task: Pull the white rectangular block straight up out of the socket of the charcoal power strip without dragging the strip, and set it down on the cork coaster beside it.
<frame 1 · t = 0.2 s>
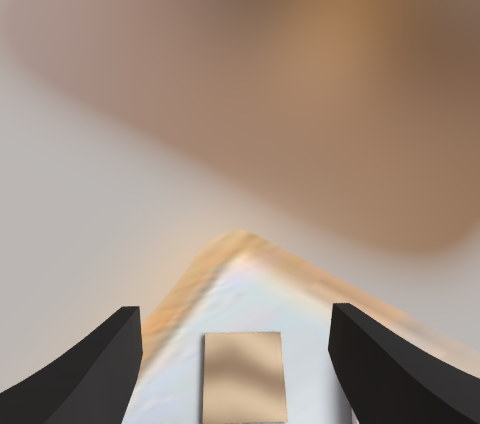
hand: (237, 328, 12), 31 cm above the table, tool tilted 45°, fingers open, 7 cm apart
cork coaster: (243, 375, 38), on the table
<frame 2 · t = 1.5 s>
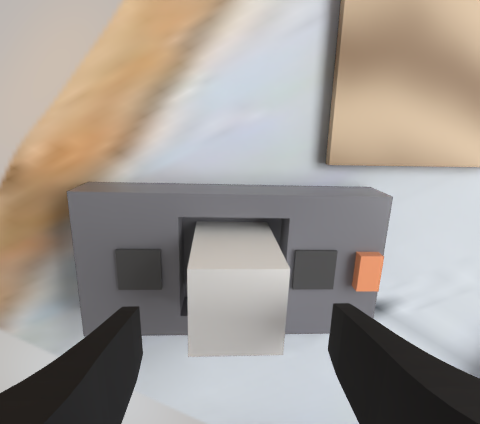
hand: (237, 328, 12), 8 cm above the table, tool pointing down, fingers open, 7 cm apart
cork coaster: (421, 75, 17), on the table
white rectangular block: (231, 254, 19), point 1 cm above the table, touching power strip
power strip: (231, 247, 20), on the table, touching white rectangular block
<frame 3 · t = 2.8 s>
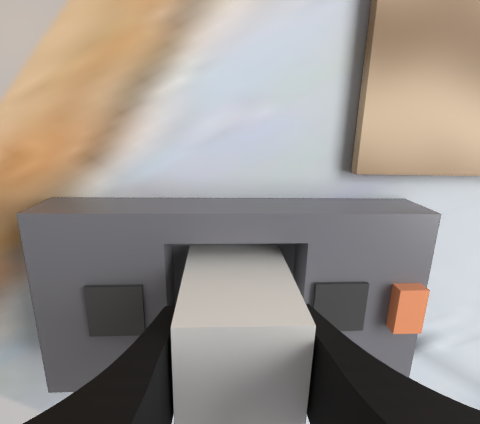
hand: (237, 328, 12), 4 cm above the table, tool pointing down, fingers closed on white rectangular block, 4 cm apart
cork coaster: (474, 61, 13), on the table
white rectangular block: (233, 284, 15), point 1 cm above the table, touching gripper, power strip
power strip: (233, 273, 16), on the table, touching white rectangular block
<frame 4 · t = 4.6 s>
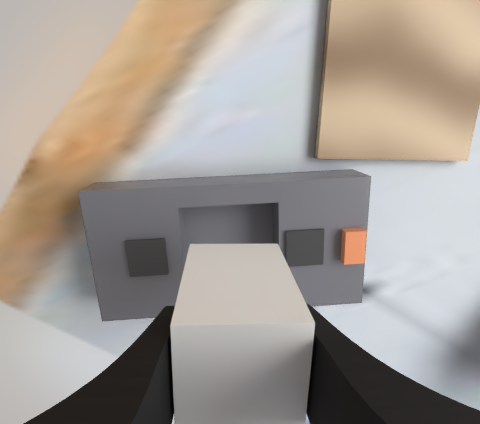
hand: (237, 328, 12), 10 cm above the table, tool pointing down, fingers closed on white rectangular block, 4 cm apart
cork coaster: (400, 77, 19), on the table
white rectangular block: (233, 283, 15), point 6 cm above the table, touching gripper
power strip: (229, 234, 21), on the table
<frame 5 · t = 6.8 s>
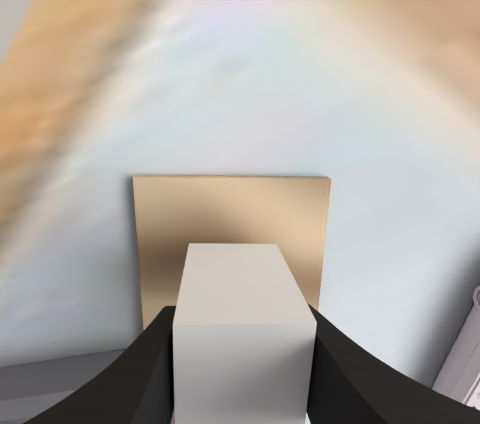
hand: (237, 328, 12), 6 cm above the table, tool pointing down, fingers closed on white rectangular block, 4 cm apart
cork coaster: (231, 263, 17), on the table
white rectangular block: (231, 283, 15), point 2 cm above the table, touching gripper
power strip: (67, 409, 20), on the table
mobile phone: (462, 386, 21), on the table
when the fingers open (5 cm above the table, at t = 7.6 s): white rectangular block drops 1 cm, resting on cork coaster.
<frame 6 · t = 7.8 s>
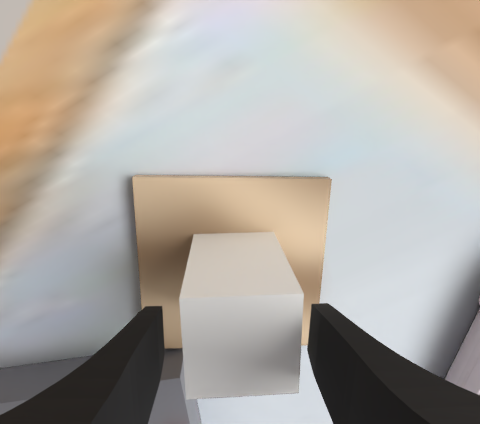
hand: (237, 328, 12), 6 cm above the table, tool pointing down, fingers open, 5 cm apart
cork coaster: (232, 264, 17), on the table
white rectangular block: (234, 269, 17), point 1 cm above the table, touching cork coaster
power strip: (67, 411, 20), on the table
mobile phone: (469, 388, 21), on the table
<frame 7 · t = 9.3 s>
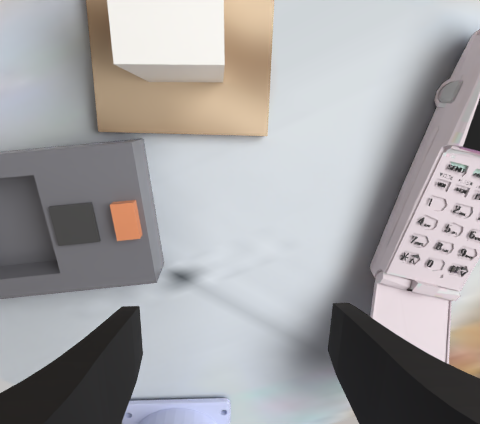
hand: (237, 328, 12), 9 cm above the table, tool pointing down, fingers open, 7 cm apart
cork coaster: (183, 43, 17), on the table
white rectangular block: (184, 41, 17), point 1 cm above the table, touching cork coaster
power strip: (27, 215, 20), on the table
mobile phone: (425, 210, 22), on the table
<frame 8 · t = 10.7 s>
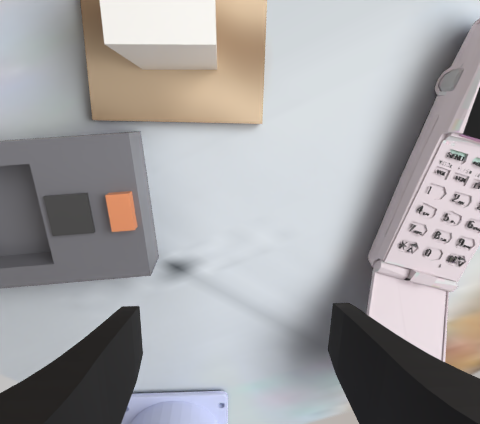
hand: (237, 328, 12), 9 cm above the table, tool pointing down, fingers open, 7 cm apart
cork coaster: (177, 31, 17), on the table
white rectangular block: (178, 28, 17), point 1 cm above the table, touching cork coaster
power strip: (21, 206, 20), on the table
mobile phone: (424, 201, 22), on the table
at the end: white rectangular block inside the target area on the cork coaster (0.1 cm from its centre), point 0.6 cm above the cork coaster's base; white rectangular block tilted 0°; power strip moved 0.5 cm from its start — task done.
